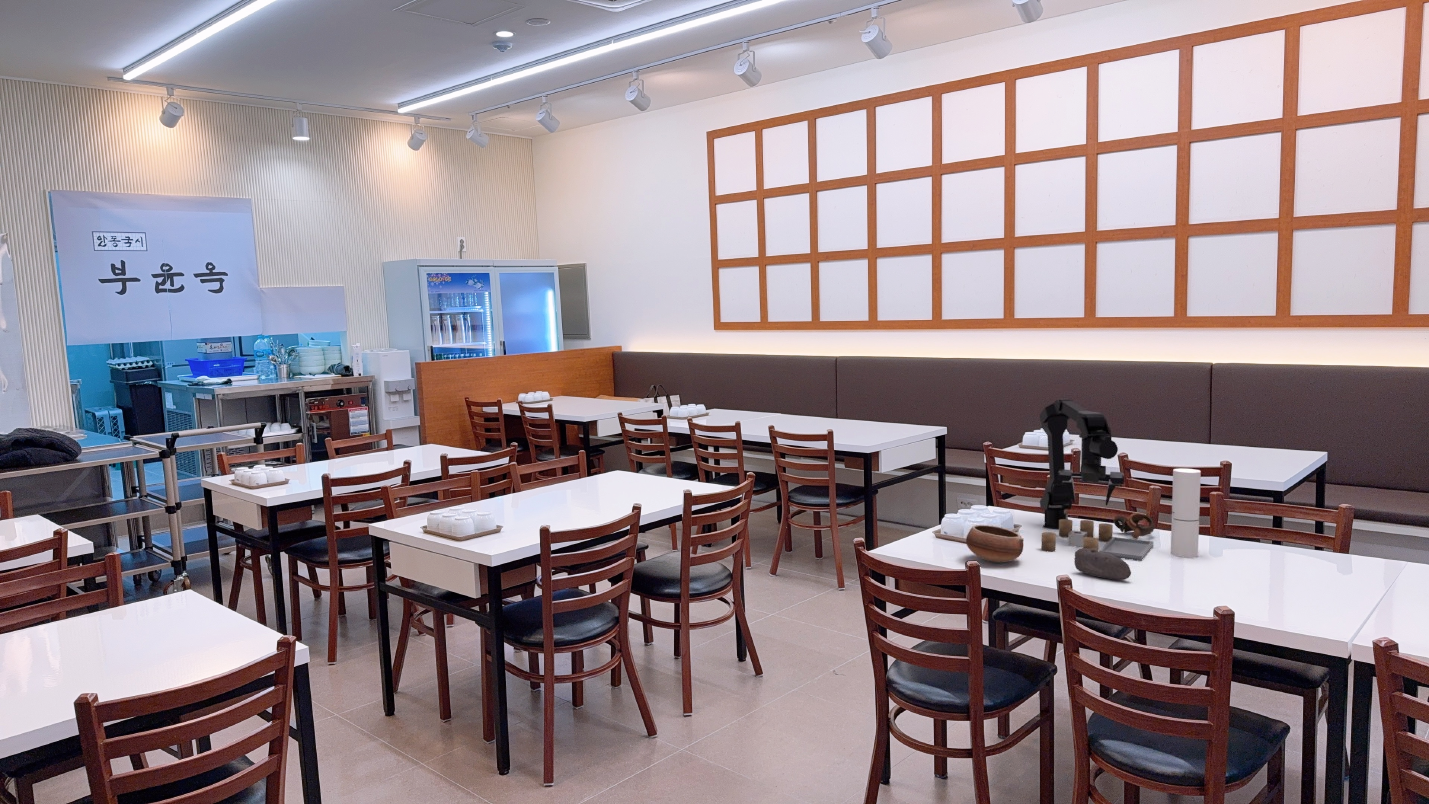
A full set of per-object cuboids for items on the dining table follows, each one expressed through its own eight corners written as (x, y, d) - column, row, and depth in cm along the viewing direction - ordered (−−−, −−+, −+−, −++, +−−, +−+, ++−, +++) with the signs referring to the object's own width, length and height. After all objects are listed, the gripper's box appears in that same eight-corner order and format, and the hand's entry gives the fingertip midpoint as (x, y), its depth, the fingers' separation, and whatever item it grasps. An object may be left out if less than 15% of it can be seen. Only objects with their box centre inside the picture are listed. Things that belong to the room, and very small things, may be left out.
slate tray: (1098, 555, 272) (1098, 550, 272) (1112, 541, 288) (1112, 536, 288) (1141, 561, 265) (1141, 556, 265) (1153, 546, 282) (1153, 541, 281)
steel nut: (1068, 546, 284) (1068, 533, 284) (1071, 543, 288) (1071, 530, 287) (1083, 548, 282) (1083, 534, 281) (1086, 544, 285) (1087, 531, 285)
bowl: (1029, 568, 260) (1030, 533, 259) (973, 569, 261) (974, 534, 260) (1013, 553, 276) (1013, 521, 275) (960, 554, 276) (960, 521, 275)
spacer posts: (1039, 550, 279) (1040, 534, 278) (1062, 532, 301) (1062, 517, 300) (1095, 557, 270) (1096, 540, 269) (1114, 538, 292) (1115, 523, 291)
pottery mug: (1151, 534, 299) (1158, 515, 294) (1147, 553, 292) (1154, 534, 287) (1112, 522, 303) (1118, 503, 298) (1107, 540, 296) (1114, 521, 291)
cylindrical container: (1191, 551, 275) (1194, 468, 272) (1202, 557, 268) (1204, 472, 265) (1166, 551, 276) (1169, 468, 273) (1176, 557, 268) (1178, 472, 266)
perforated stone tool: (1135, 581, 246) (1135, 555, 246) (1125, 585, 243) (1126, 559, 242) (1082, 569, 258) (1082, 545, 257) (1072, 573, 255) (1072, 548, 254)
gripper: (1057, 456, 280) (1056, 507, 281) (1124, 459, 272) (1123, 511, 273) (1059, 451, 290) (1058, 500, 291) (1124, 454, 282) (1123, 504, 284)
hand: (1090, 504), depth 285 cm, fingers open, 9 cm apart
